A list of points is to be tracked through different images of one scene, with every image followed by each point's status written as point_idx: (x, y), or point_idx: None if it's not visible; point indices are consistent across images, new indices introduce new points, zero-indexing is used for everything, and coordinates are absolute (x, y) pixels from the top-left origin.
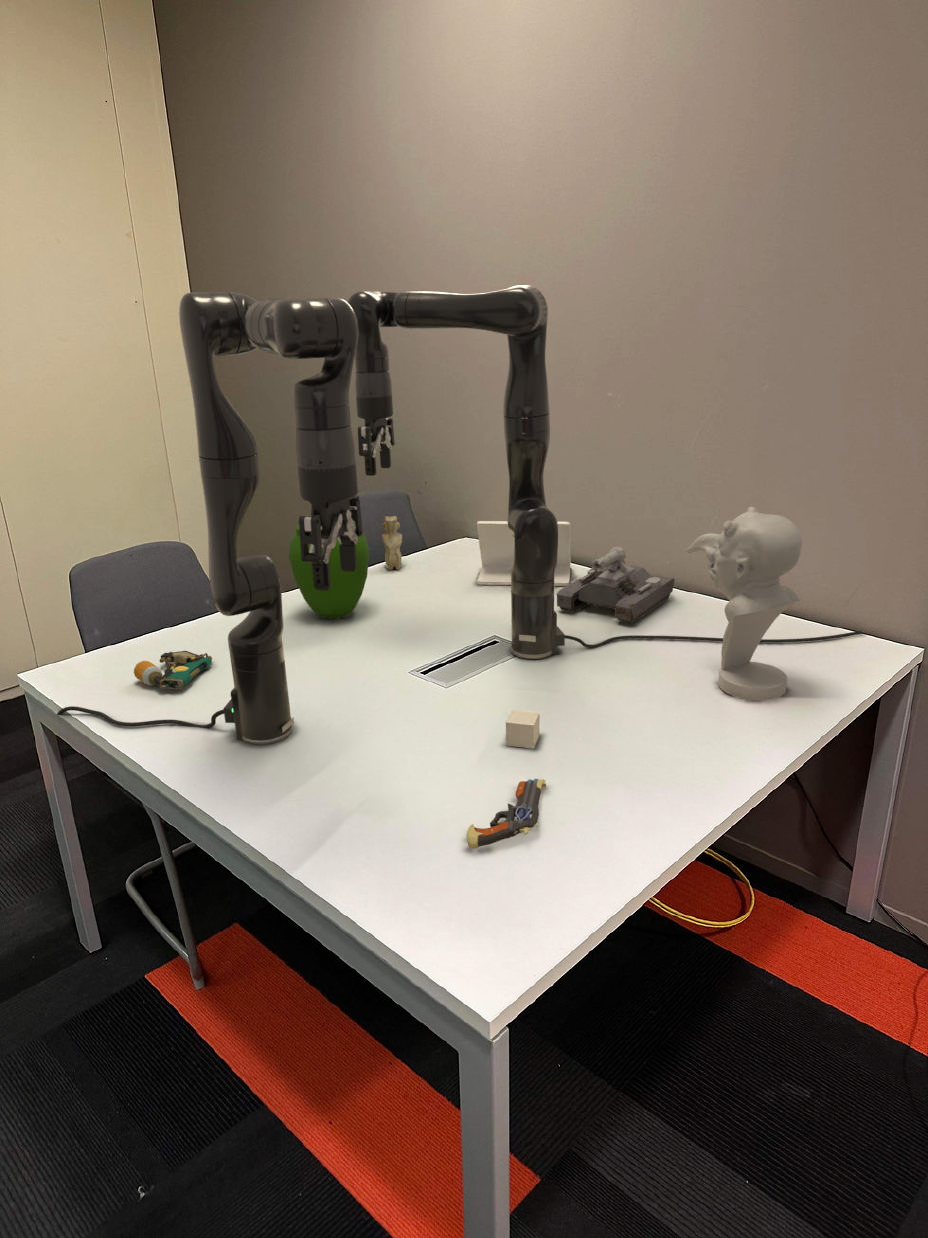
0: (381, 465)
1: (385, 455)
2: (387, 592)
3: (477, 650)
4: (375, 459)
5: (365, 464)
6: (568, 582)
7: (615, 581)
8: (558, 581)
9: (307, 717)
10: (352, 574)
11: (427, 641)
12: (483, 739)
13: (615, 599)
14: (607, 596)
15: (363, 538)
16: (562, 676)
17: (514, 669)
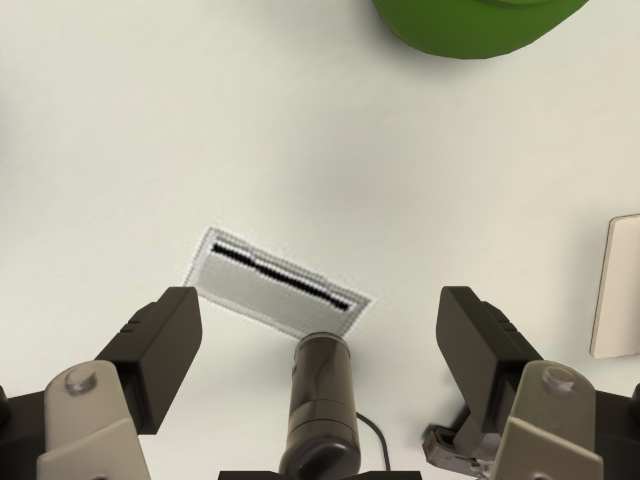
0: (448, 294)
1: (471, 375)
2: (575, 49)
3: (310, 292)
4: (161, 419)
5: (113, 340)
6: (596, 358)
7: (492, 459)
8: (602, 344)
9: (25, 146)
10: (408, 41)
11: (327, 216)
12: (84, 354)
13: (460, 443)
14: (467, 437)
15: (515, 37)
16: (259, 393)
17: (262, 346)
